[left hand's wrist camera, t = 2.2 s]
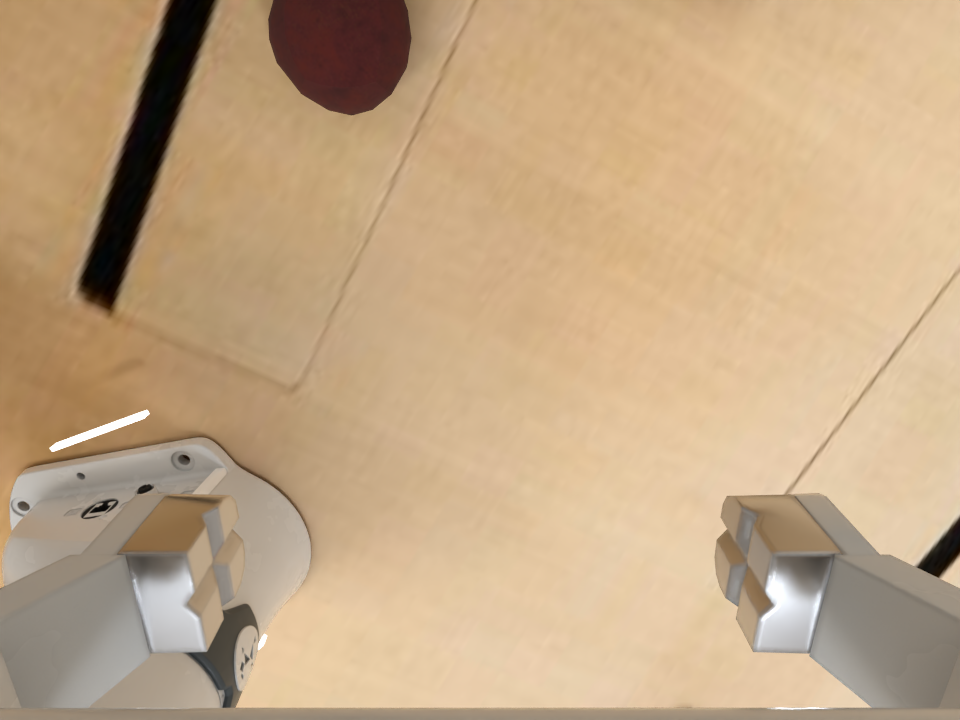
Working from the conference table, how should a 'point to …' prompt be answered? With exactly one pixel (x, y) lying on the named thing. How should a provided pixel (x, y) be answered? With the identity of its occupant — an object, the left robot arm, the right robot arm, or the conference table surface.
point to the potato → (341, 49)
